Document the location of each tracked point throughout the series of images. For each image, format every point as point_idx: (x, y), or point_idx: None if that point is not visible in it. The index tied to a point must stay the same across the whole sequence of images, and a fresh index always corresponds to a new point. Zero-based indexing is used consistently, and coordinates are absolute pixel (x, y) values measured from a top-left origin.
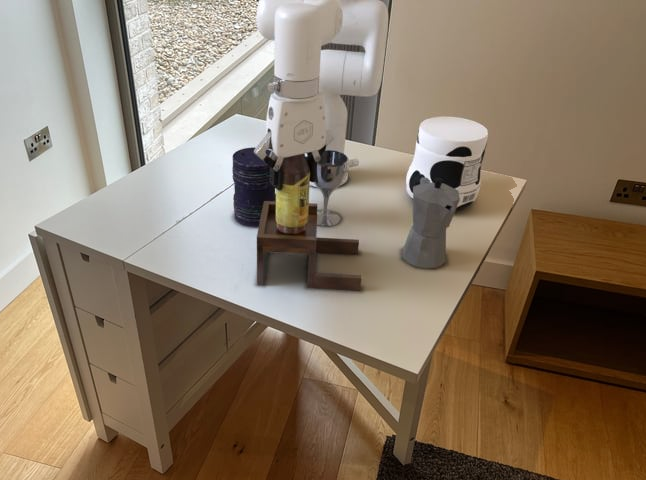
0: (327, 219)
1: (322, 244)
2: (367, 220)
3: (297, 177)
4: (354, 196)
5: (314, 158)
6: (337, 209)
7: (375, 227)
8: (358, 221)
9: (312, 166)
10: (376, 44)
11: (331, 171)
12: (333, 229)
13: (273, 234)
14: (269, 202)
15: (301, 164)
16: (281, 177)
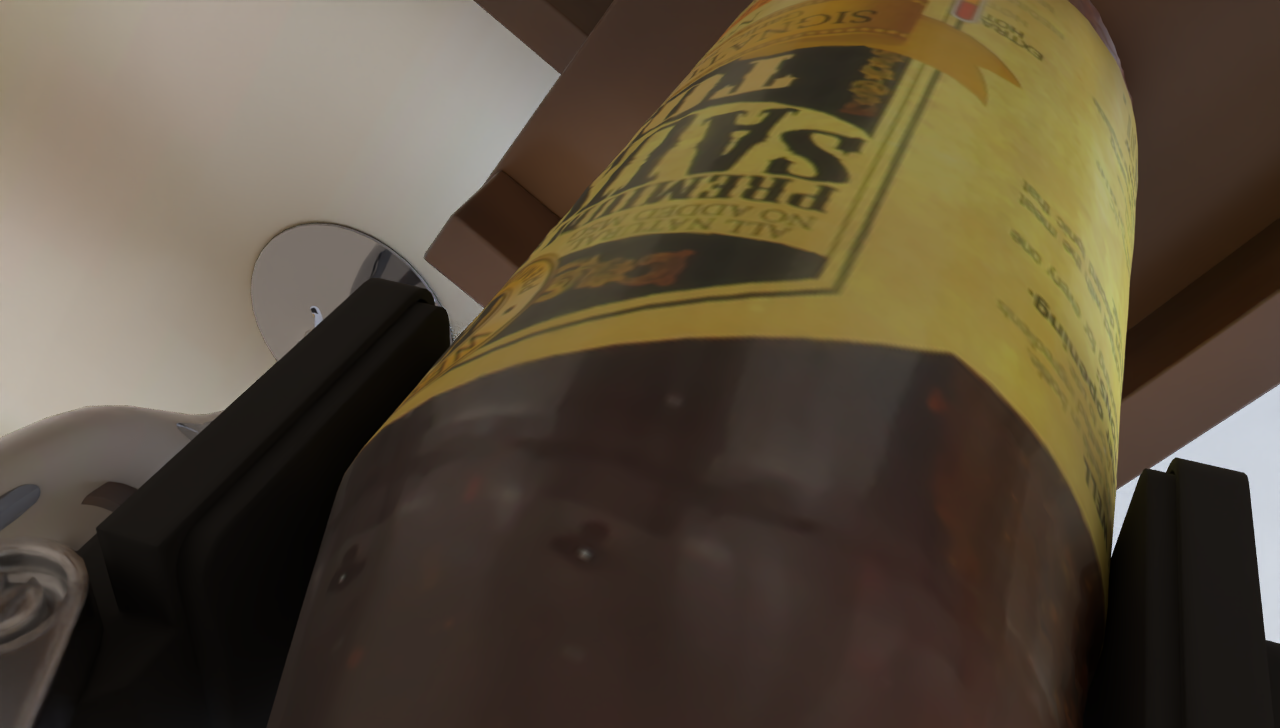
0: (345, 293)
1: (577, 2)
2: (95, 122)
3: (806, 437)
4: (68, 388)
5: (54, 645)
6: (226, 350)
7: (77, 13)
8: (157, 151)
9: (239, 509)
10: None
11: (54, 527)
12: (362, 183)
13: (1209, 143)
14: None
15: (524, 684)
16: (1211, 687)
